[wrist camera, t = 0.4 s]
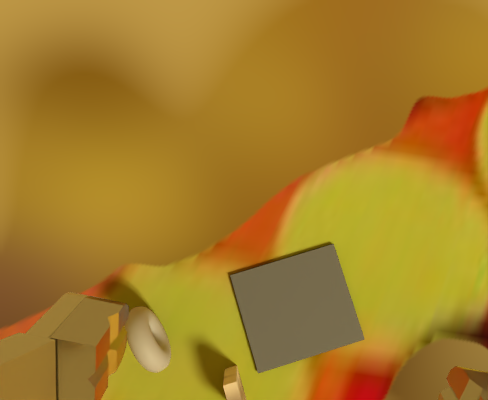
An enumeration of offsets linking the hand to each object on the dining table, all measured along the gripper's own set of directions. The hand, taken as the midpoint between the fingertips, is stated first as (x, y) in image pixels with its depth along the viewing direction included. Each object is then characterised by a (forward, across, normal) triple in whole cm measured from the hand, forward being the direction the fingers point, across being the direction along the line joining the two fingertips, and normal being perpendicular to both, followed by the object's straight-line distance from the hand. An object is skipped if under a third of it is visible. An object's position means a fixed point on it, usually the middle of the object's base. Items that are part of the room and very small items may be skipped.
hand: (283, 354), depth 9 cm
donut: (+40, -13, -35) cm, 55 cm away
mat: (+44, +9, -28) cm, 52 cm away
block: (+37, +1, -40) cm, 55 cm away
